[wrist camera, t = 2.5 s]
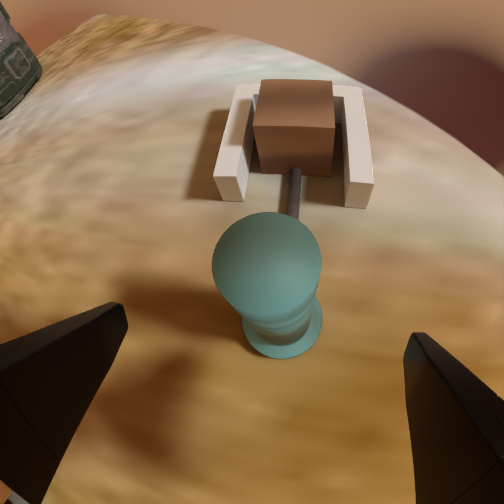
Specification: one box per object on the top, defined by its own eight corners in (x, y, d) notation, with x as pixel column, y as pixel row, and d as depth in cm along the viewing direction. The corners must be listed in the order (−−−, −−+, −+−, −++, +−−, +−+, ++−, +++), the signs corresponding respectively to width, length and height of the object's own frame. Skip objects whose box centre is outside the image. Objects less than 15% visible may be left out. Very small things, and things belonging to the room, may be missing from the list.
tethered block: (321, 362, 17) (347, 347, 8) (236, 354, 18) (170, 327, 9) (329, 128, 23) (333, 21, 14) (268, 126, 24) (251, 21, 15)
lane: (365, 208, 20) (374, 183, 17) (223, 200, 22) (212, 176, 19) (357, 113, 24) (360, 87, 21) (243, 109, 26) (237, 84, 23)
